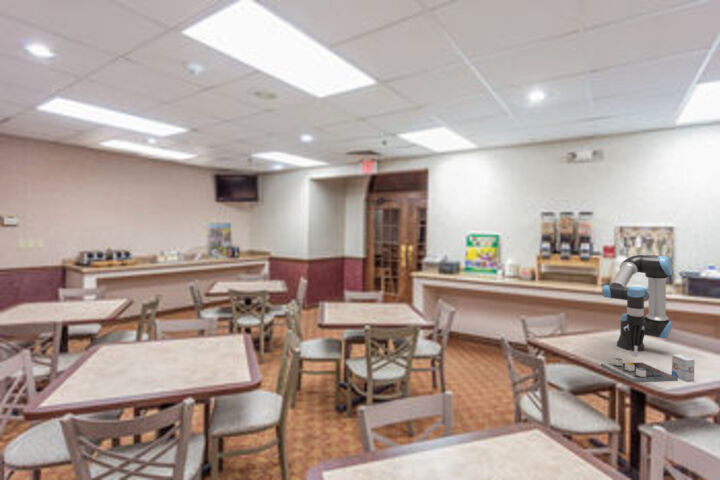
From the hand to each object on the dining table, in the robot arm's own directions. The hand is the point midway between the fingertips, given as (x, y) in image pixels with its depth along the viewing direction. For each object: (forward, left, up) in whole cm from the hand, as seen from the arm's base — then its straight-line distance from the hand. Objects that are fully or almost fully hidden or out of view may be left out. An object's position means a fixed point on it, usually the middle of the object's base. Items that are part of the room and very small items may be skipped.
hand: (633, 356), depth 199 cm
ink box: (-21, +8, -10) cm, 25 cm away
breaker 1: (+3, -7, -8) cm, 11 cm away
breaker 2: (+3, +8, -8) cm, 11 cm away
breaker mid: (+2, 0, -8) cm, 8 cm away
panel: (-2, 0, -9) cm, 10 cm away
